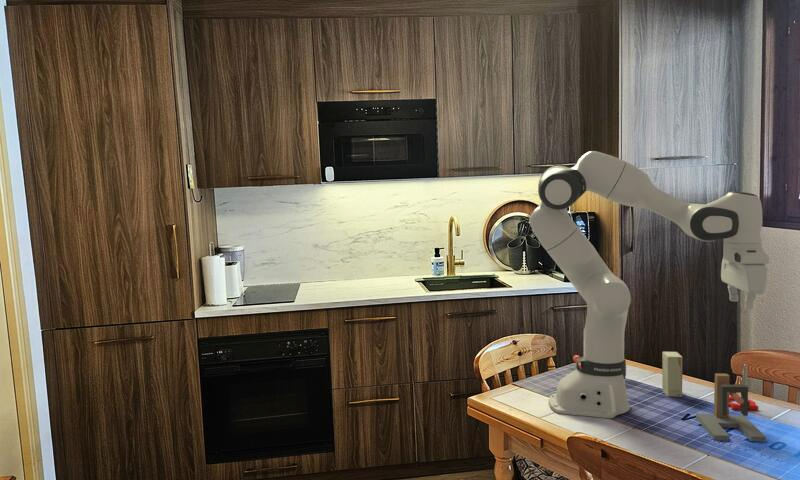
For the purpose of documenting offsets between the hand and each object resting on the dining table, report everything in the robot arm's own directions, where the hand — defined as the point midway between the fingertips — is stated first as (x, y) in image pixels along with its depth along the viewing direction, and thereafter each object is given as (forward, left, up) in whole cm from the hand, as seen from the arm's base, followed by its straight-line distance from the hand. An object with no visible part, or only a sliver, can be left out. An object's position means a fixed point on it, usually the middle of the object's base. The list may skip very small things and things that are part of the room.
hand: (740, 304), depth 162 cm
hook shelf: (-5, -8, -31) cm, 32 cm away
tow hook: (+4, +10, -32) cm, 33 cm away
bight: (-5, -10, -26) cm, 29 cm away
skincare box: (-12, +18, -31) cm, 38 cm away
